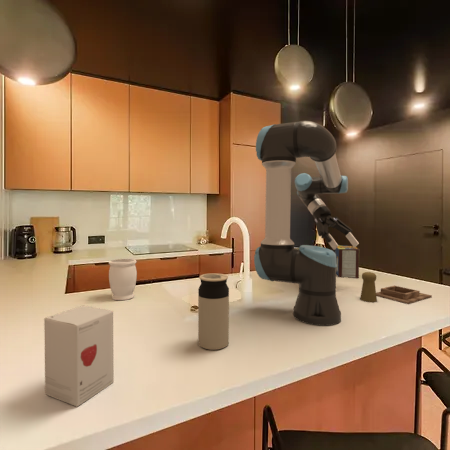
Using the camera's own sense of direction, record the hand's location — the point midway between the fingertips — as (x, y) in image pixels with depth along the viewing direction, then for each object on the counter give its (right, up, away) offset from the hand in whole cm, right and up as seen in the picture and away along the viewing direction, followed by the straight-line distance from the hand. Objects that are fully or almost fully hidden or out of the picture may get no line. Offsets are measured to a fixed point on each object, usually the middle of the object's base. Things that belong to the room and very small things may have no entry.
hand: (346, 246), depth 127 cm
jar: (-93, -20, -7) cm, 95 cm away
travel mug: (-55, -22, -48) cm, 76 cm away
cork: (+5, -21, -8) cm, 23 cm away
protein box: (+15, -19, +39) cm, 46 cm away
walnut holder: (+22, -20, -3) cm, 30 cm away
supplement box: (-80, -23, -68) cm, 108 cm away
